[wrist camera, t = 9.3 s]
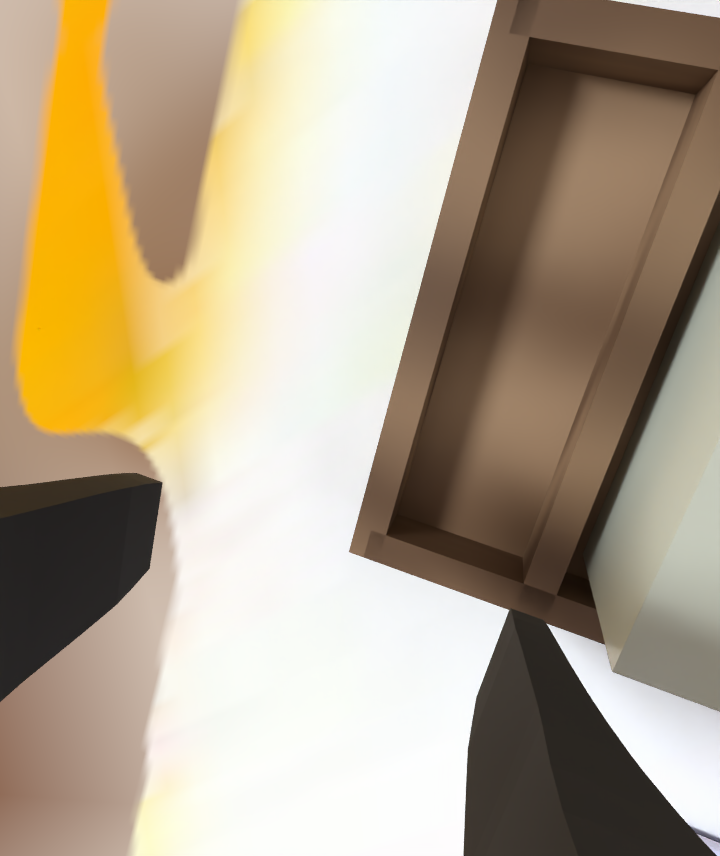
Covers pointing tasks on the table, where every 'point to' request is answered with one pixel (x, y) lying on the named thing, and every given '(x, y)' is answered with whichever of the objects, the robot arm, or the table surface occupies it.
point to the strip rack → (547, 299)
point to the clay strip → (669, 517)
